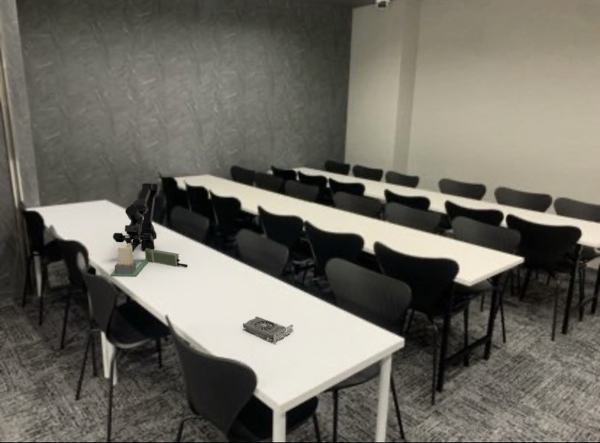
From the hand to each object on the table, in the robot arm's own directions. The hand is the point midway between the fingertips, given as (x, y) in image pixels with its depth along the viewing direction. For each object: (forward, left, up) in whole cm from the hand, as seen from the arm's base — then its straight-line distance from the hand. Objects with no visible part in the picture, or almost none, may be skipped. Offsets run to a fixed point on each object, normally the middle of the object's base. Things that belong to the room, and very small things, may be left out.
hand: (130, 253), depth 226 cm
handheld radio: (-17, -2, -8) cm, 19 cm away
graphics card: (-52, +78, -8) cm, 94 cm away
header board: (0, +1, -8) cm, 8 cm away
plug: (+2, +6, -6) cm, 9 cm away
